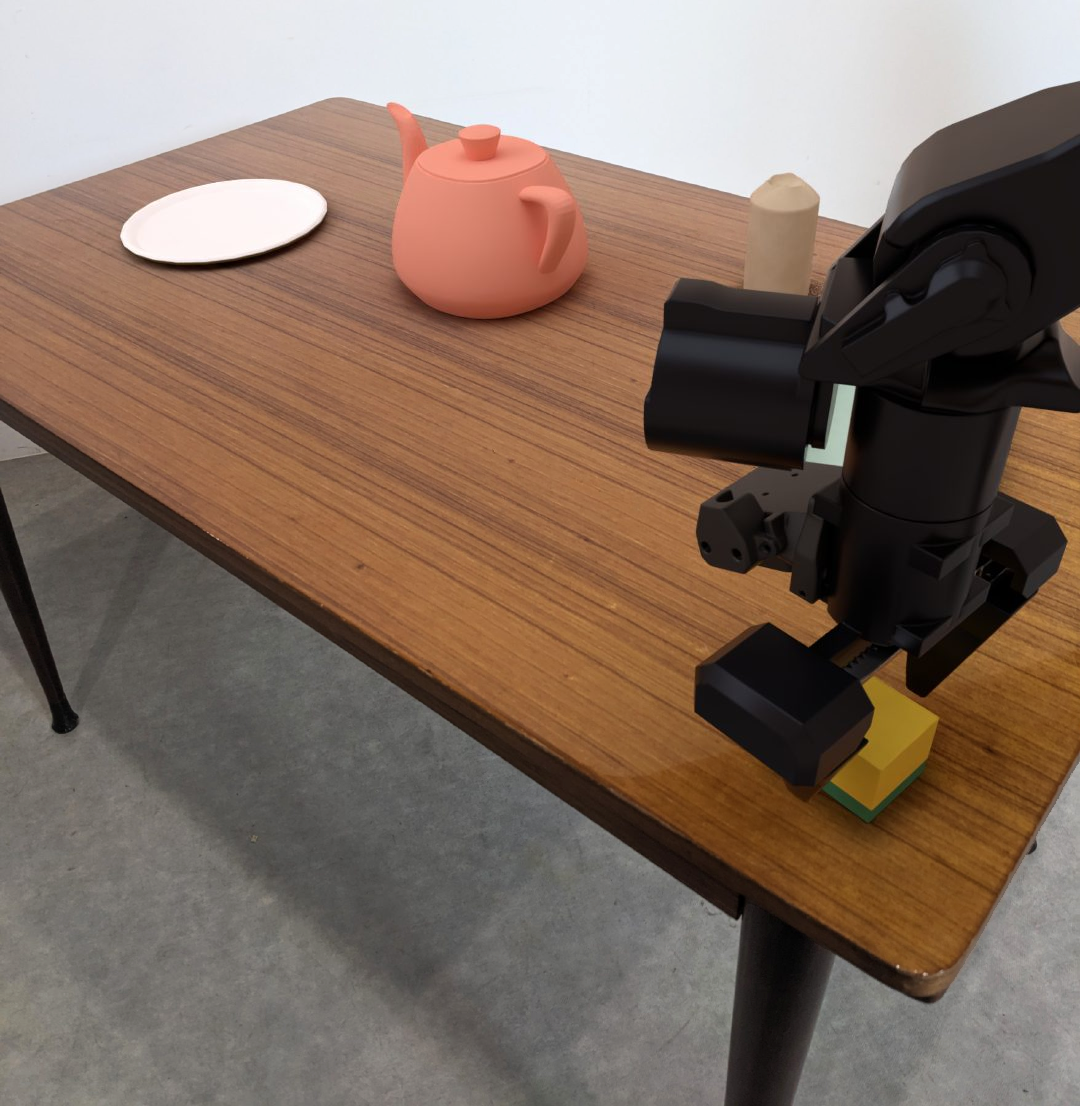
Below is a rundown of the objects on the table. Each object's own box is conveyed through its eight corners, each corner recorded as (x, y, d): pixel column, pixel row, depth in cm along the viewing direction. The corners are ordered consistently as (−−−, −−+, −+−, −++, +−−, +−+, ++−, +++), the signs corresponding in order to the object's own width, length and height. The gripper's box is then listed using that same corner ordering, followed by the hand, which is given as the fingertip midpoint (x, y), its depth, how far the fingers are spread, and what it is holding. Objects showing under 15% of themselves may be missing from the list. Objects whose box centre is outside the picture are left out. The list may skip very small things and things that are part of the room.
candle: (813, 308, 88) (828, 190, 81) (747, 311, 88) (756, 193, 81) (802, 279, 92) (815, 164, 85) (738, 281, 92) (747, 168, 86)
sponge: (924, 771, 51) (940, 717, 49) (868, 824, 49) (881, 770, 46) (839, 714, 54) (850, 660, 52) (783, 762, 52) (791, 708, 49)
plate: (84, 237, 108) (80, 226, 107) (250, 175, 119) (248, 163, 118) (198, 292, 96) (195, 279, 96) (370, 217, 108) (368, 205, 107)
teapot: (336, 264, 99) (309, 118, 91) (478, 213, 107) (465, 74, 98) (496, 359, 84) (481, 194, 75) (649, 291, 92) (651, 135, 83)
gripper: (885, 323, 50) (841, 572, 60) (597, 491, 41) (602, 750, 51) (1117, 413, 43) (1024, 676, 53) (832, 638, 34) (785, 902, 44)
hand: (860, 741), depth 50 cm, fingers open, 9 cm apart
